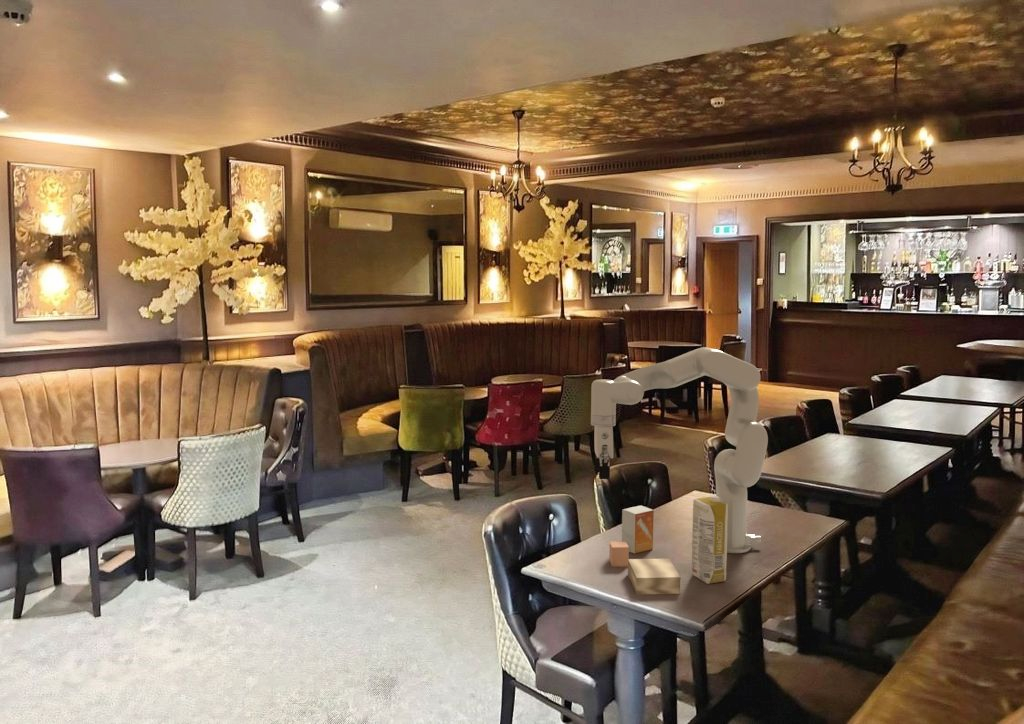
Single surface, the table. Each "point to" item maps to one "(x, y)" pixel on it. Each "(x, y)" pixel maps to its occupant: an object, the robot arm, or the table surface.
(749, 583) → the table surface
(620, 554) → the terracotta block
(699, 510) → the juice carton
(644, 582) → the birch block
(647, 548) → the small box
